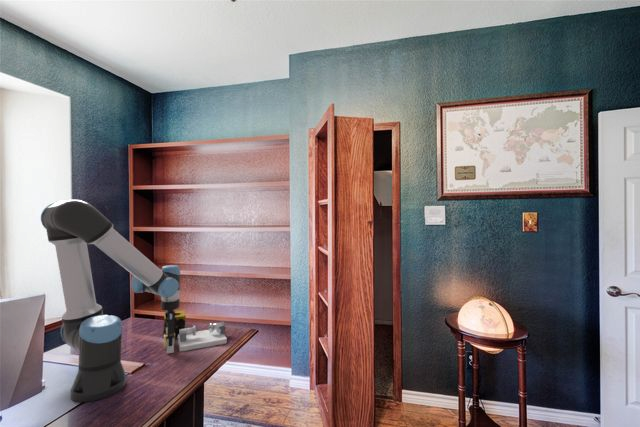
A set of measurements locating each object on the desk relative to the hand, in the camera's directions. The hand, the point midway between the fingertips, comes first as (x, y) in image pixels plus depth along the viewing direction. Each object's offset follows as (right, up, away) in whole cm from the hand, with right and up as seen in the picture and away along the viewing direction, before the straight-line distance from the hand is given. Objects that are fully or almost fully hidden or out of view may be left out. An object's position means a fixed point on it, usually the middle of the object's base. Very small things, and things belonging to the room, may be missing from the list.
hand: (169, 346), depth 135 cm
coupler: (0, 0, 0) cm, 0 cm away
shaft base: (+12, -1, +7) cm, 14 cm away
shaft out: (+17, +1, +12) cm, 21 cm away
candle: (-6, -1, +16) cm, 17 cm away
